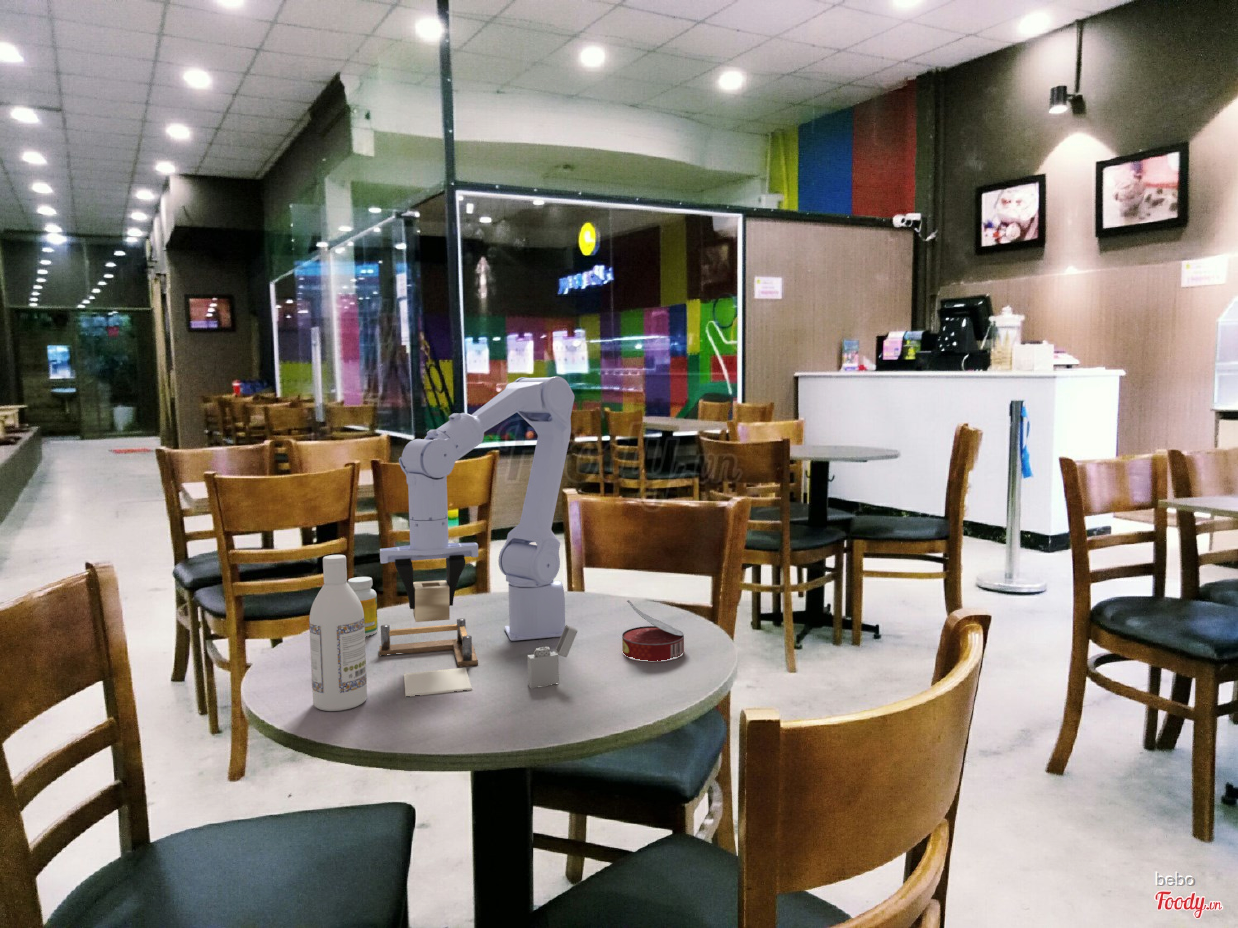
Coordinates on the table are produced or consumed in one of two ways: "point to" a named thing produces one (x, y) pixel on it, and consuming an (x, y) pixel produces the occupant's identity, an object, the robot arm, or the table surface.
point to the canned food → (652, 640)
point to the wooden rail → (432, 642)
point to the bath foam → (337, 641)
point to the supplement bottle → (366, 602)
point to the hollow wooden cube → (431, 601)
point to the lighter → (549, 660)
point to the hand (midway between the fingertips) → (431, 605)
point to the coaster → (436, 682)
